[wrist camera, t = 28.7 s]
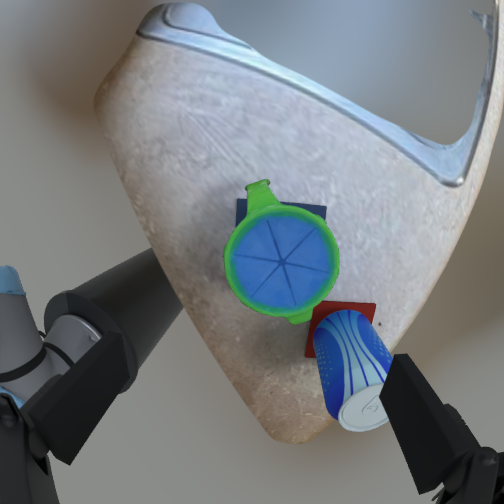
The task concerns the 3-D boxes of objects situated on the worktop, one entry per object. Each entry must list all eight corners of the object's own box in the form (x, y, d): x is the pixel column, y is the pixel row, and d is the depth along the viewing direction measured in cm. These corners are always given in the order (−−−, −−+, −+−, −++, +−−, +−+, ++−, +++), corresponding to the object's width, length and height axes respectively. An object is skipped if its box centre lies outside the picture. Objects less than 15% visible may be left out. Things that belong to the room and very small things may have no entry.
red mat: (304, 355, 38) (304, 357, 38) (314, 299, 36) (314, 301, 36) (361, 356, 38) (362, 358, 37) (375, 303, 36) (376, 304, 35)
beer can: (372, 345, 37) (411, 418, 21) (319, 363, 38) (336, 445, 22) (362, 297, 35) (410, 363, 20) (304, 317, 36) (320, 396, 21)
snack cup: (330, 291, 35) (349, 328, 25) (252, 307, 37) (245, 348, 27) (308, 172, 32) (322, 164, 22) (223, 191, 34) (203, 191, 24)
